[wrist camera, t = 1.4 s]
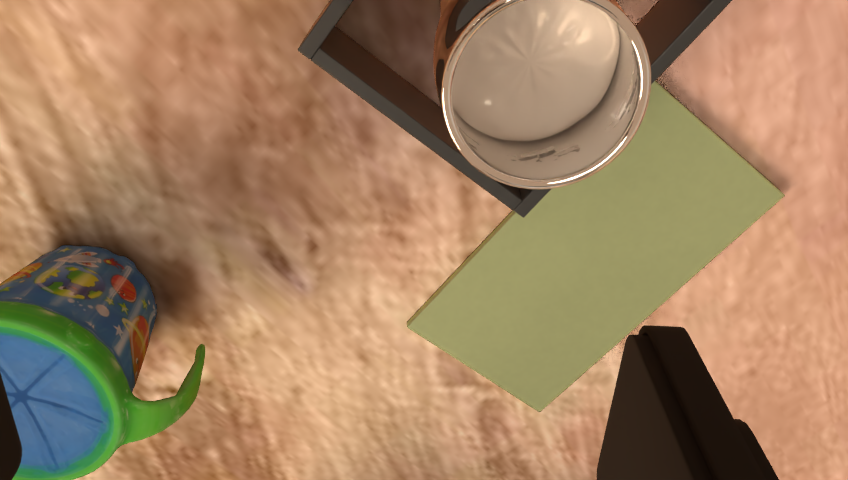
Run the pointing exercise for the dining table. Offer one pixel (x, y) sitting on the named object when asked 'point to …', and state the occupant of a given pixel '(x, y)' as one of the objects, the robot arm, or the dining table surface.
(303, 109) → the dining table surface
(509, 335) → the drying mat
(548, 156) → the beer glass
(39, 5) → the dining table surface
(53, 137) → the dining table surface
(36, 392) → the snack cup
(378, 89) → the basin
